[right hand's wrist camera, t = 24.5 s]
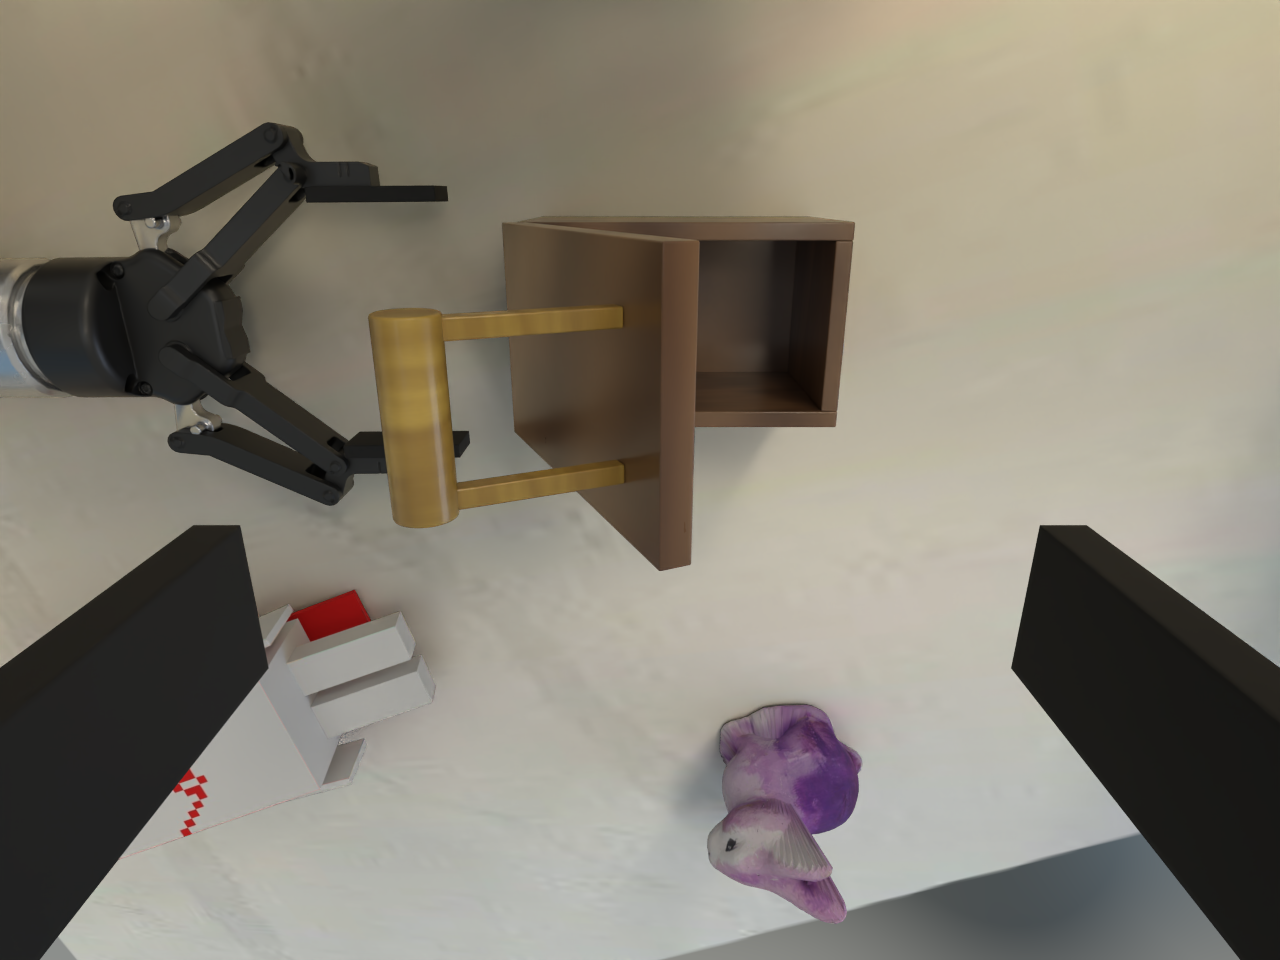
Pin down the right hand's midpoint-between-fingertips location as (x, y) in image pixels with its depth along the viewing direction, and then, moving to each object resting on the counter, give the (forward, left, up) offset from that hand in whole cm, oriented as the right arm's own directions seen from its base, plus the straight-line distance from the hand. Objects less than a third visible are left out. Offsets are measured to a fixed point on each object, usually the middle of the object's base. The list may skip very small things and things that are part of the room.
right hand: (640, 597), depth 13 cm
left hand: (+6, -8, -31) cm, 33 cm away
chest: (-1, +2, -38) cm, 38 cm away
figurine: (+23, +28, -38) cm, 52 cm away
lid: (+1, -2, -19) cm, 19 cm away
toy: (+40, -10, -38) cm, 55 cm away
